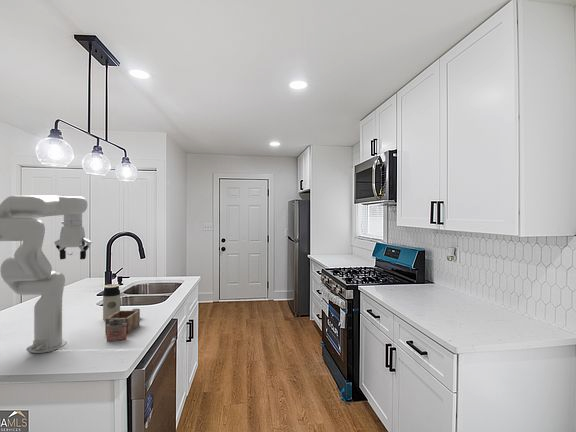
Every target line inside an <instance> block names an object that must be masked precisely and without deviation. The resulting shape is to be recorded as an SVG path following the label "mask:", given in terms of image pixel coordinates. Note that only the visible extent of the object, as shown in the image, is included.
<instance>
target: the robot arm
mask: <svg viewBox="0 0 576 432" xmlns="http://www.w3.org/2000/svg"><path fill="white" fill-rule="evenodd" d="M87 209H88V202H87V199H86V198H85V197H83V196H68V195H67V196H62V195H11V196H8V197H6V198H5V199H4V200H3V201H2V202H0V242H22V243H21V244H20V246H18V247H17V249H16V250H15V251H14V255H13V256H10V257H7V258H6V259H4V260H3V262H2V263H1V265H0V276H1V278H2V280H3V281H4V283H5V284H7V286H8V287H9V288H10V289H11V290H12V291H13V292H14V293H15V294H16V295H18V296H40V297H39V299H38V300H37V301H36V303H35V305H34V308H33V314H34V315H33V316H34V317H33V325H34V326H33V327H34V329H33V330H34V331H33V333H34V334H33V340H32V344H31V345H30V346H28V347H26V351H27V352H29V353H32V354H44V353H45V354H46V353H50V352H54V351H55V352H56V351H58V350H59V348H62V347H65V345H67V340H65V339H63V295H64V289H65V283H66V278H65V275H64V273H63V272H60V271H57V270H56V271H55V270H53V267H52V264H51V263H50V261H49V259H48V258H47V256H46V255H45V253H44V252H43V249H42V248H43V243H44V238H45V234H46V232H45V231H46V229H45V228H46V227H45V224H44V222H43V221H42V220H41V219H39V218H44V217H53V216H55V217H56V216H57V217H58V216H63V220H62V221H61V224H62V225H63V226H61V228H60V233H59V239H57V240H55V241H54V245H55V247H56V249H57V251H59V259H60V260H65V259H66V258H67V251H66V249H67V248H78V249H80V252H79V260H85V259H86V258H87V250H88V249H89V248H90V246H91V245H92V244H93V243H92V241H91V240H89V239H87V238H86V234H85V233H86V231H85V227H84V226H83V213H84V212H86V210H87Z"/></svg>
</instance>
